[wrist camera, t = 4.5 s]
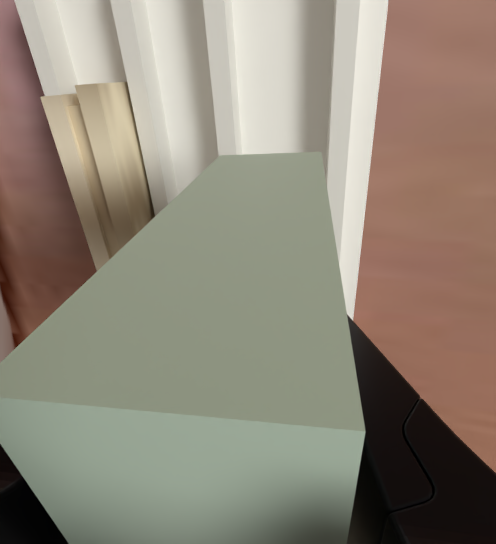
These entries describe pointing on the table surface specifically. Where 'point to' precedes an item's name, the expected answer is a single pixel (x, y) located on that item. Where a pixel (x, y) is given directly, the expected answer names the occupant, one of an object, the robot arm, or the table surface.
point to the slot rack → (230, 86)
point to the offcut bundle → (102, 164)
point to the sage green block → (199, 374)
